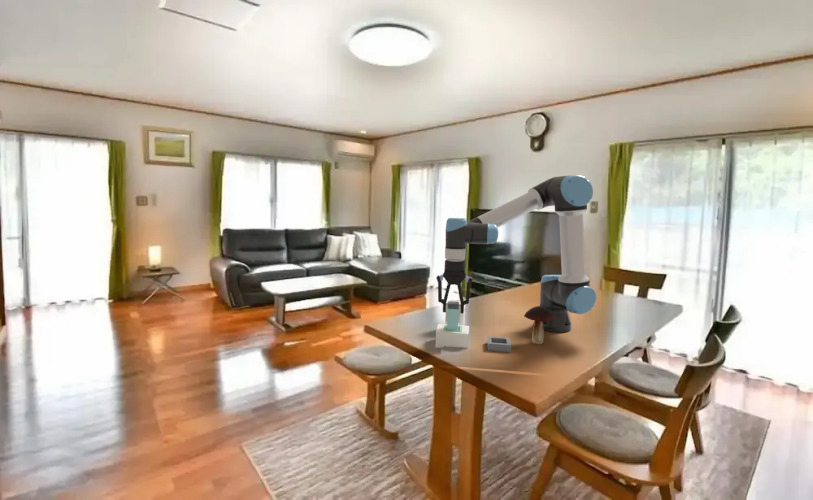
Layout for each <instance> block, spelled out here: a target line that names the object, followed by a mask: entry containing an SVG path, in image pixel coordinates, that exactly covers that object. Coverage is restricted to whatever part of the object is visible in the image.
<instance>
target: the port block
mask: <svg viewBox="0 0 813 500" xmlns="http://www.w3.org/2000/svg"><path fill="white" fill-rule="evenodd" d="M469 339H470V325H465V326H464V325H458V331H455V330H447V324H445V323H438V324H437V327H436V330H435V349H436V348H438V349H439V348H440V349H444V347H448V348H465V349H469V342H470V341H469Z"/></svg>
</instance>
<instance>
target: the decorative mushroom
mask: <svg viewBox="0 0 813 500" xmlns="http://www.w3.org/2000/svg"><path fill="white" fill-rule="evenodd" d="M523 317H524V318H526V319H528V320H531V321H534V322H533V327H532V333H531V334H532V335H531V342H532V344H534V345H542V344H543V343H544V339H545V338H544V335H545V334H544V333H545V332H544V331H545V330H544V329H543V321H553V320H554V317H553V315H552V313H551V312H550V311H548V310H547V309H545V308H543V307H541V306H540V305H537V306H533V307H531V308H530V309H528V310H527V311H526V312H525V313H524V315H523Z"/></svg>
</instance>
